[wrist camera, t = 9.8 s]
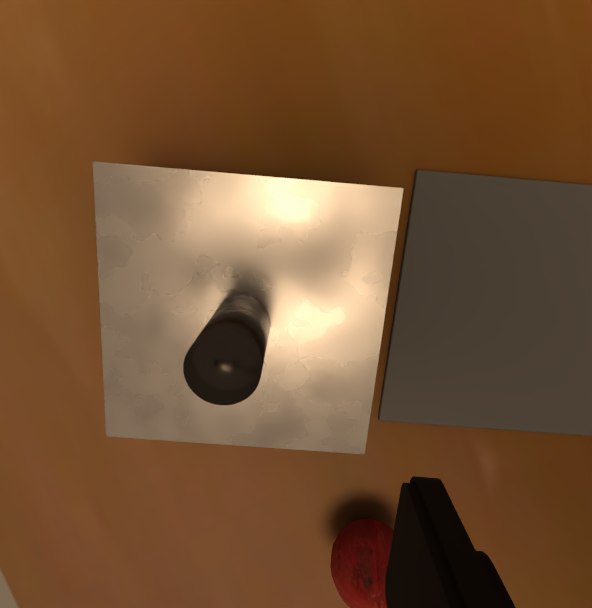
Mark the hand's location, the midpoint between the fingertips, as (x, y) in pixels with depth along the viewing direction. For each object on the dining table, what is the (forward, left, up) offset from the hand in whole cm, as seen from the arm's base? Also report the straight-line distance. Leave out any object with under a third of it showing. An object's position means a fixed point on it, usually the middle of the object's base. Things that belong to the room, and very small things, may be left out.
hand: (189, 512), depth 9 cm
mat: (-18, 0, -20) cm, 27 cm away
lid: (0, 0, -14) cm, 14 cm away
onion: (-9, +19, -20) cm, 29 cm away
